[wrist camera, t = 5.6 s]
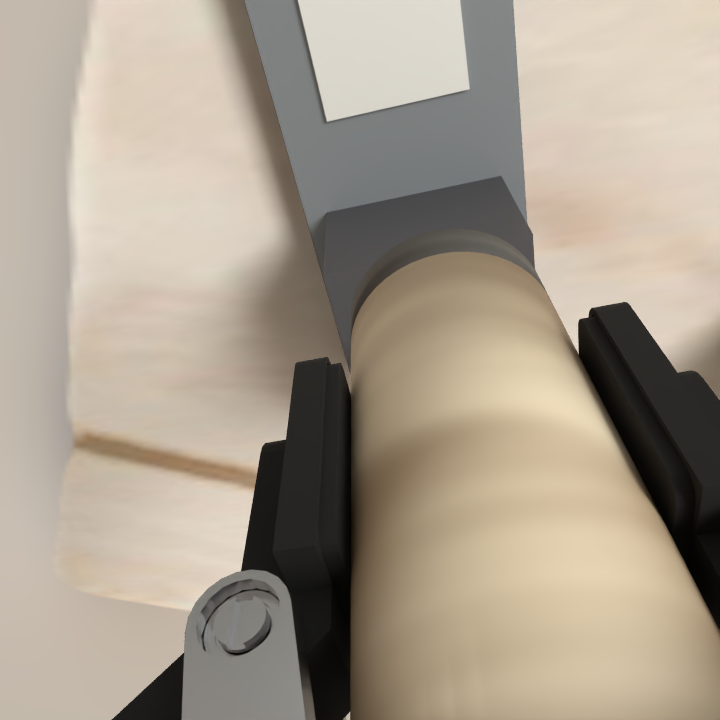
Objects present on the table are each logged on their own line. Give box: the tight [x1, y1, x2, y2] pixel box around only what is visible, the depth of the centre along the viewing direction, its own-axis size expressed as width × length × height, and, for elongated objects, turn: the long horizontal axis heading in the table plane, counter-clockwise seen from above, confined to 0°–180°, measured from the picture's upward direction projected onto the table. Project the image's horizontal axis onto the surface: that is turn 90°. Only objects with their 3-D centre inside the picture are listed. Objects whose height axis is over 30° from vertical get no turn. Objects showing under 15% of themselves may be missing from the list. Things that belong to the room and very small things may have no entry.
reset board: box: [244, 0, 535, 374], centre depth 27 cm, size 21×10×8 cm, turn 12°
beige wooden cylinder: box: [350, 229, 720, 720], centre depth 9 cm, size 4×4×10 cm
